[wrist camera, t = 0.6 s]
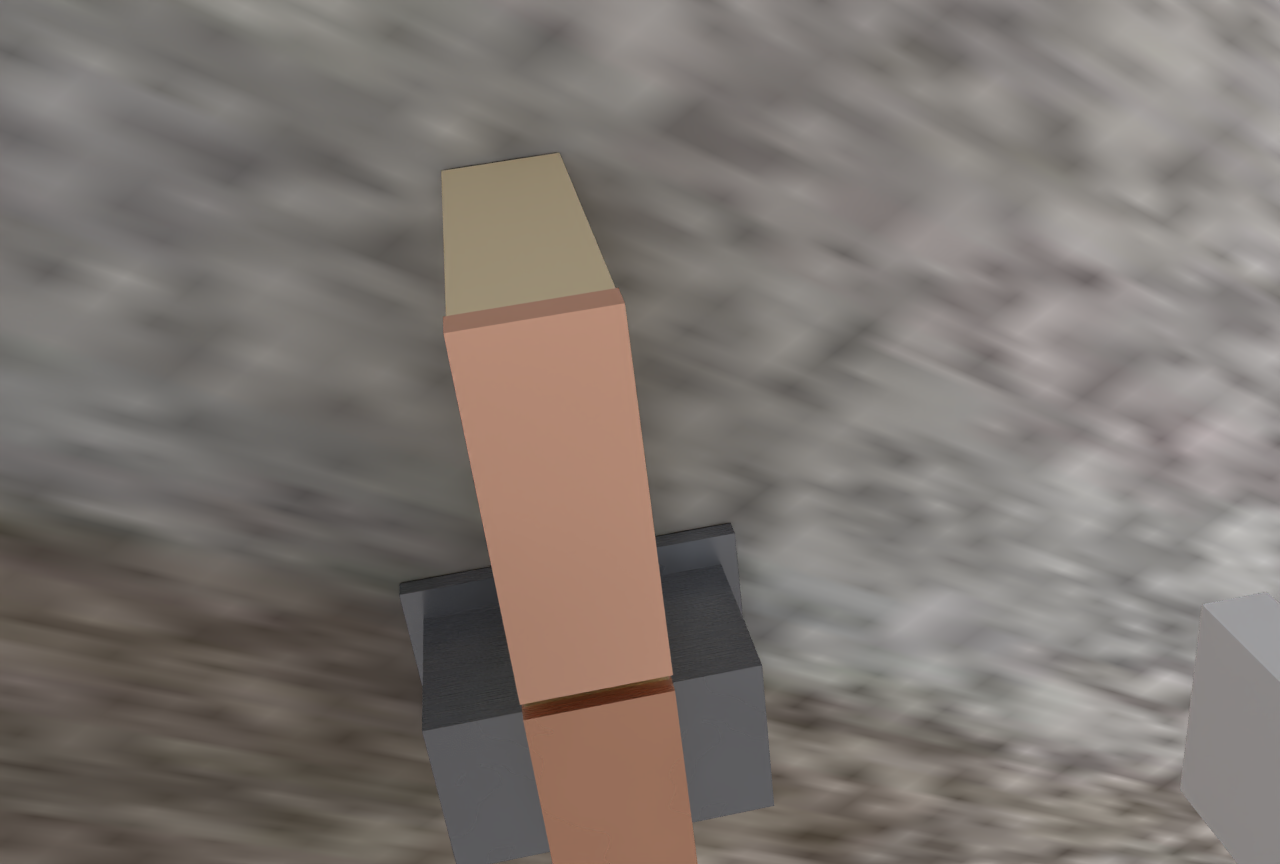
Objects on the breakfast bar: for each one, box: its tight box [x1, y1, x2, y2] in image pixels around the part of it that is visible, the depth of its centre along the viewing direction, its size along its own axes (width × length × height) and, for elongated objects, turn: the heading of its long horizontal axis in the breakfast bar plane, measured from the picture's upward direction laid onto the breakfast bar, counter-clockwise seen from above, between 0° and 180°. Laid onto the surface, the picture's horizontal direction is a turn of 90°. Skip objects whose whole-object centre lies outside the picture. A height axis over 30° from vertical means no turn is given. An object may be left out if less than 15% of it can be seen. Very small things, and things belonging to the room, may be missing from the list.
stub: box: [441, 153, 673, 705], centre depth 27 cm, size 3×8×11 cm, turn 7°
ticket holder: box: [399, 523, 774, 864], centre depth 31 cm, size 10×10×11 cm
